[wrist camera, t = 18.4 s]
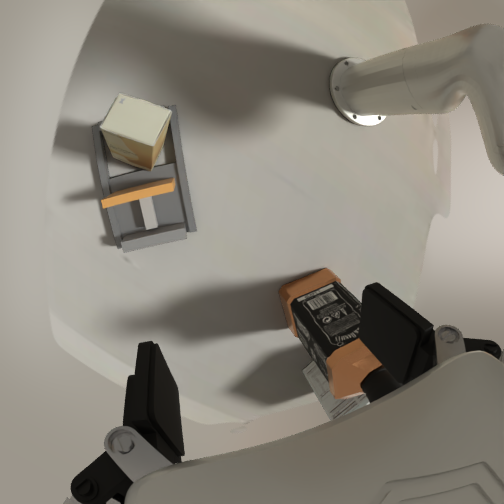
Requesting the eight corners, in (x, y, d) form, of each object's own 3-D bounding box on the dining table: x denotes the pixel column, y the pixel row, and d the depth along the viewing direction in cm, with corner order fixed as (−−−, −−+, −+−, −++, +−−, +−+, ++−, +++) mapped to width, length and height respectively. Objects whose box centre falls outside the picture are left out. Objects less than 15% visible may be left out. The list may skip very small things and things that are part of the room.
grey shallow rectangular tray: (175, 106, 33) (175, 101, 29) (196, 228, 39) (197, 236, 36) (95, 127, 30) (85, 125, 27) (119, 245, 37) (114, 255, 34)
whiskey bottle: (288, 329, 50) (376, 469, 21) (277, 287, 46) (386, 442, 17) (335, 308, 52) (441, 424, 23) (330, 265, 48) (464, 383, 19)
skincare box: (112, 158, 32) (95, 127, 20) (125, 130, 32) (116, 90, 21) (153, 173, 34) (154, 147, 23) (166, 145, 34) (173, 109, 23)
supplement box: (300, 371, 56) (333, 430, 40) (343, 330, 54) (389, 383, 39) (330, 386, 61) (363, 435, 45) (368, 350, 60) (408, 396, 44)
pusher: (174, 177, 35) (172, 182, 29) (182, 219, 37) (182, 233, 31) (115, 191, 33) (101, 200, 27) (124, 232, 36) (114, 248, 29)
